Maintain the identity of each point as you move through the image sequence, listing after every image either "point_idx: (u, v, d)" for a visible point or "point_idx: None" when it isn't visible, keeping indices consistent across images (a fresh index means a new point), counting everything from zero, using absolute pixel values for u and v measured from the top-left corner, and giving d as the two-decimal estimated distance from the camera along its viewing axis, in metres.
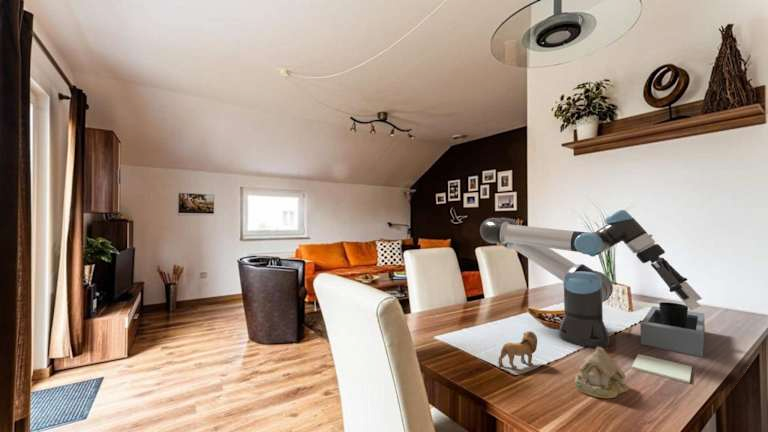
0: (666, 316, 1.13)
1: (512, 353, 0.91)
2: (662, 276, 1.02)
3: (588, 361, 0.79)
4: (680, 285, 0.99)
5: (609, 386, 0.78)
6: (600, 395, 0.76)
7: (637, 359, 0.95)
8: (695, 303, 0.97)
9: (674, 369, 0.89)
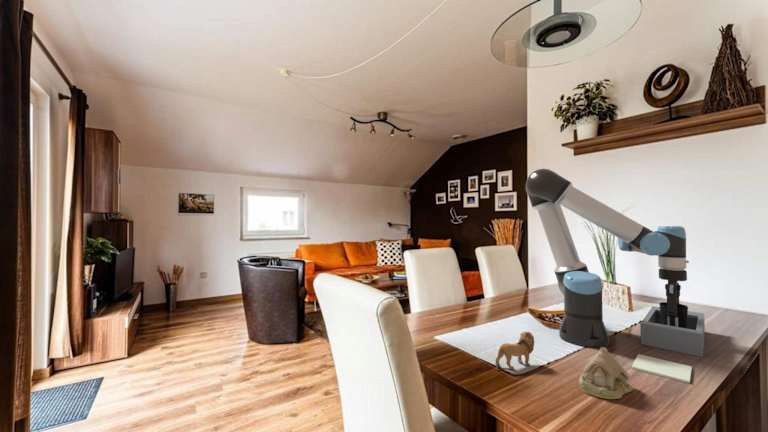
0: (666, 316, 1.13)
1: (509, 354, 0.91)
2: (668, 302, 1.10)
3: (593, 362, 0.79)
4: (677, 316, 1.09)
5: (615, 386, 0.77)
6: (606, 396, 0.75)
7: (637, 359, 0.95)
8: None
9: (674, 369, 0.89)
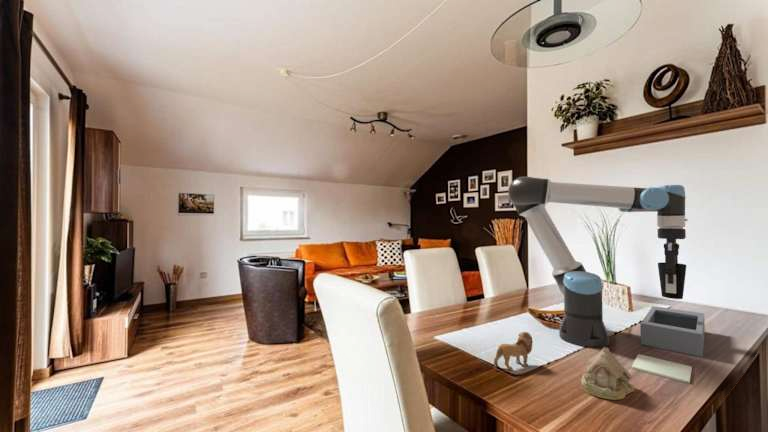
0: (664, 274, 1.14)
1: (508, 354, 0.91)
2: (666, 259, 1.10)
3: (596, 362, 0.78)
4: (675, 273, 1.10)
5: (617, 387, 0.77)
6: (610, 397, 0.75)
7: (637, 359, 0.95)
8: (673, 289, 1.11)
9: (674, 369, 0.89)
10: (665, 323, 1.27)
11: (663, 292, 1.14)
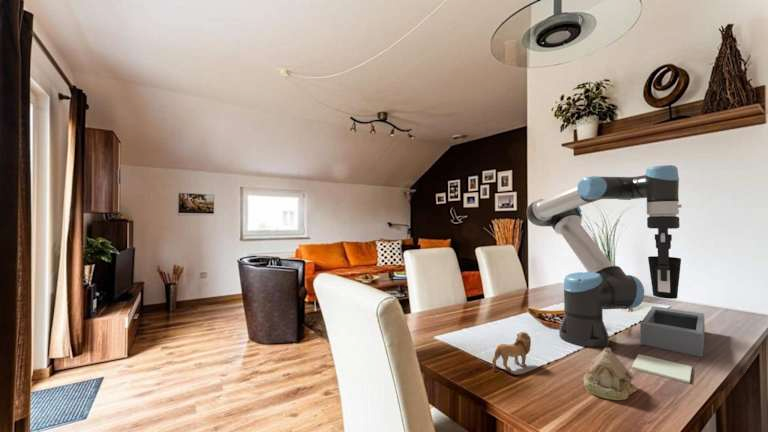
0: (656, 270, 0.97)
1: (506, 354, 0.90)
2: (659, 252, 0.93)
3: (599, 363, 0.78)
4: (669, 268, 0.93)
5: (620, 387, 0.77)
6: (613, 397, 0.75)
7: (637, 359, 0.95)
8: (667, 288, 0.94)
9: (674, 369, 0.89)
10: (665, 323, 1.27)
11: (655, 291, 0.98)
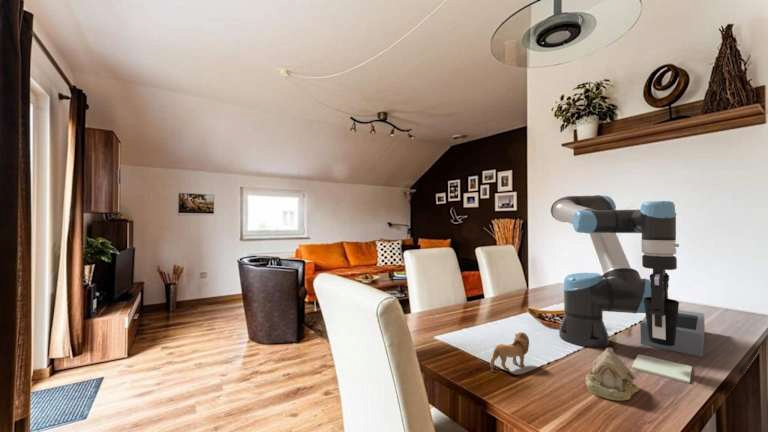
0: (651, 314, 0.90)
1: (504, 355, 0.90)
2: (653, 296, 0.87)
3: (602, 363, 0.78)
4: (664, 313, 0.86)
5: (623, 387, 0.77)
6: (617, 398, 0.74)
7: (637, 359, 0.95)
8: (662, 334, 0.87)
9: (674, 369, 0.89)
10: None
11: (650, 336, 0.91)
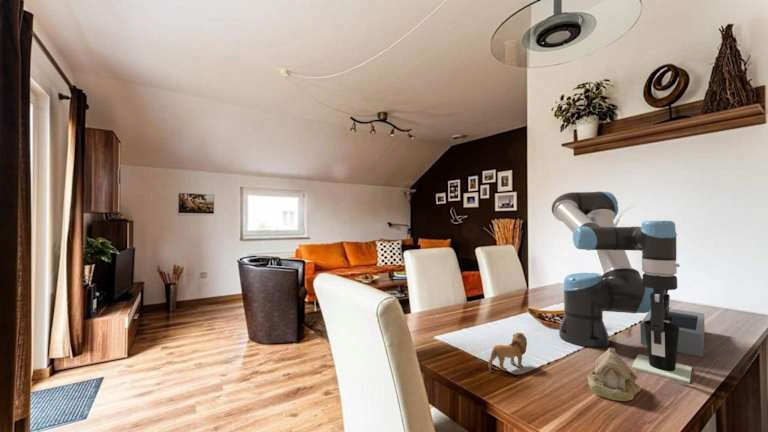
0: None
1: (502, 355, 0.90)
2: (653, 312, 0.86)
3: (605, 364, 0.78)
4: (663, 330, 0.84)
5: (626, 387, 0.77)
6: (620, 398, 0.74)
7: (637, 359, 0.95)
8: (662, 351, 0.85)
9: None
10: None
11: (651, 360, 0.91)
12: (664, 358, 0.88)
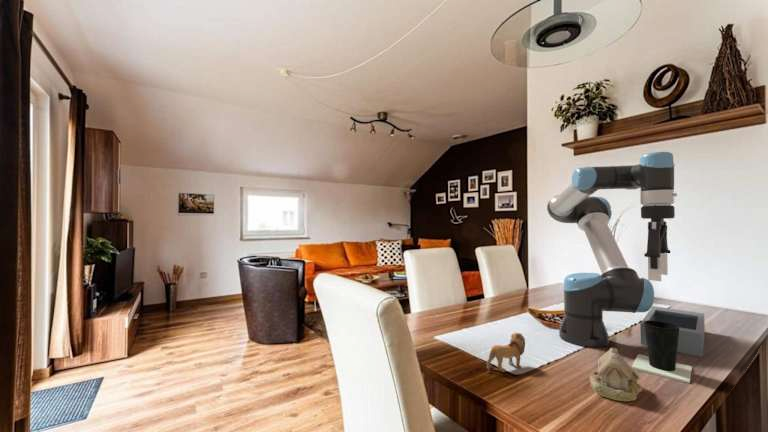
0: (651, 339, 0.90)
1: (501, 356, 0.90)
2: (649, 238, 0.88)
3: (608, 364, 0.77)
4: (659, 254, 0.87)
5: (628, 388, 0.77)
6: (624, 398, 0.74)
7: (637, 359, 0.95)
8: (658, 276, 0.88)
9: None
10: None
11: (651, 360, 0.91)
12: (664, 358, 0.88)
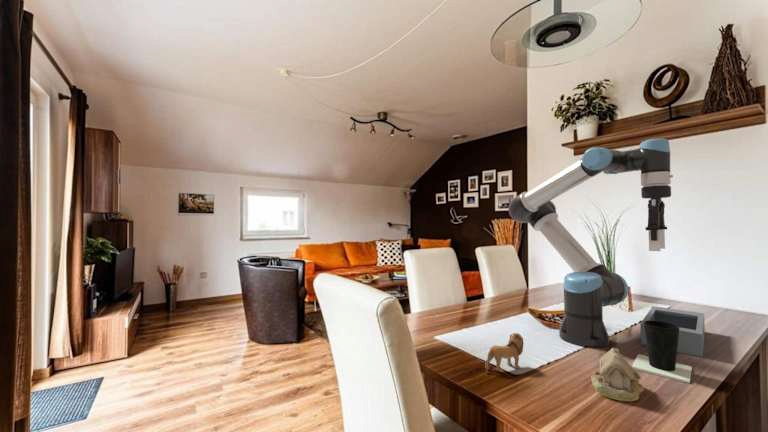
0: (651, 339, 0.90)
1: (499, 356, 0.89)
2: (650, 214, 1.00)
3: (610, 364, 0.77)
4: (658, 227, 0.99)
5: (630, 387, 0.77)
6: (626, 399, 0.74)
7: (637, 359, 0.95)
8: (657, 247, 1.00)
9: None
10: None
11: (651, 360, 0.91)
12: (664, 358, 0.88)
